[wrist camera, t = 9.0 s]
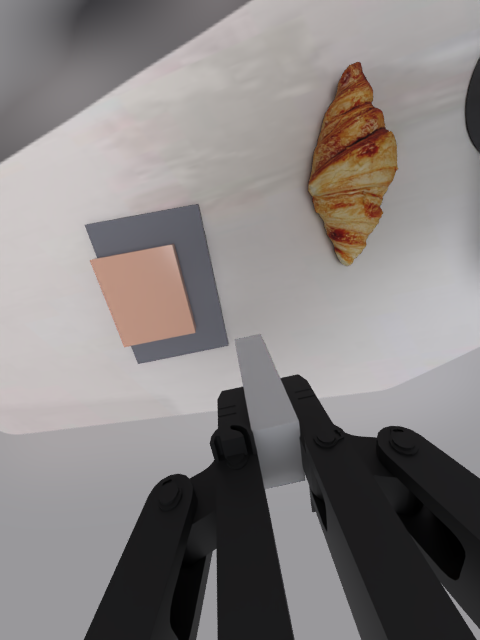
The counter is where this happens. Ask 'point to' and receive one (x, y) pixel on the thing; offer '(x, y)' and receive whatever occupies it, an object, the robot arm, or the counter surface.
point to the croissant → (352, 165)
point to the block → (145, 294)
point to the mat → (195, 266)
